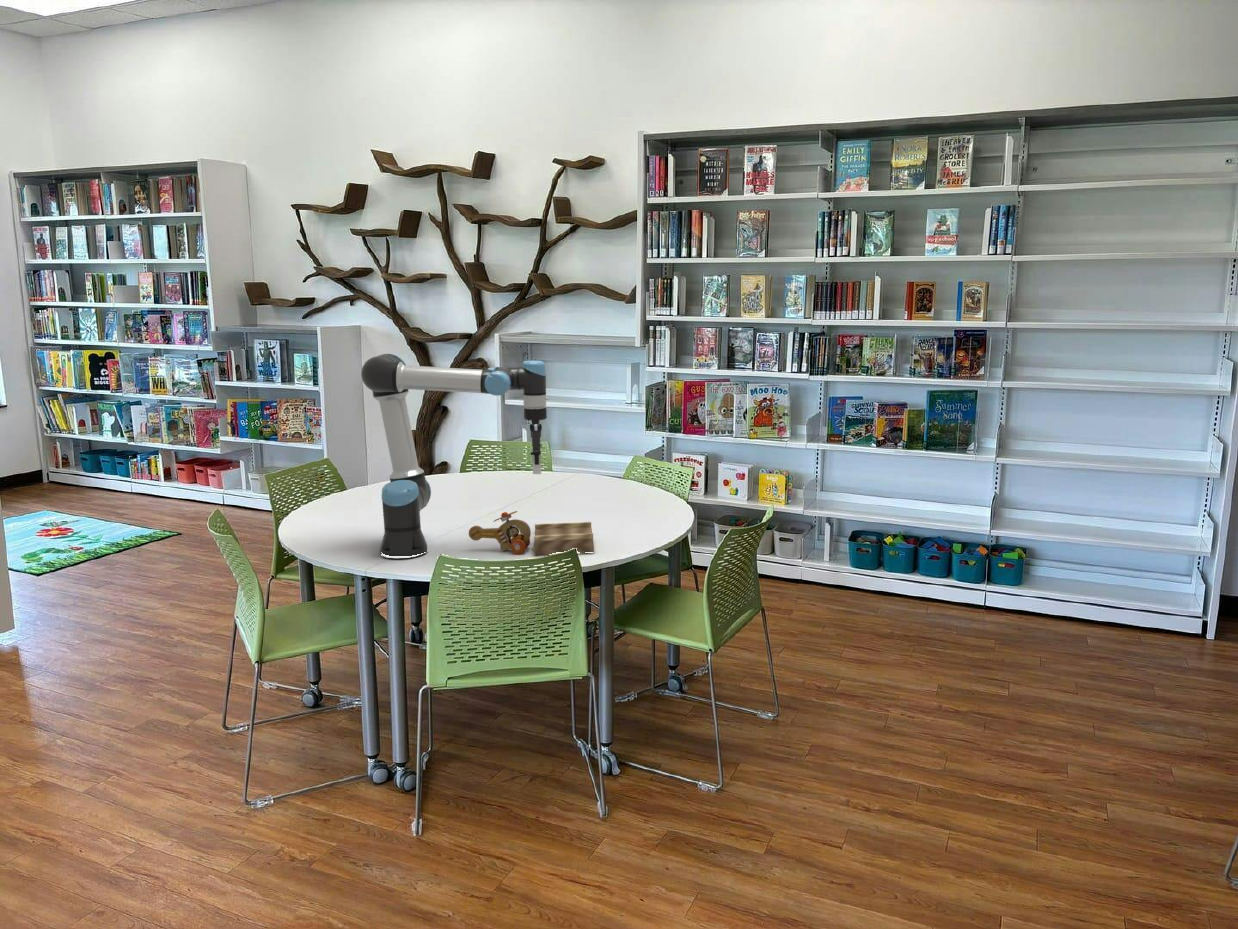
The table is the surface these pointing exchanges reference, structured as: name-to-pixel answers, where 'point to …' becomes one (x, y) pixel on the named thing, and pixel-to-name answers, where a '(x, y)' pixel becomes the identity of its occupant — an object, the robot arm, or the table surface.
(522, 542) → the toy helicopter
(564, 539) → the display stand
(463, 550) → the table surface
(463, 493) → the table surface
